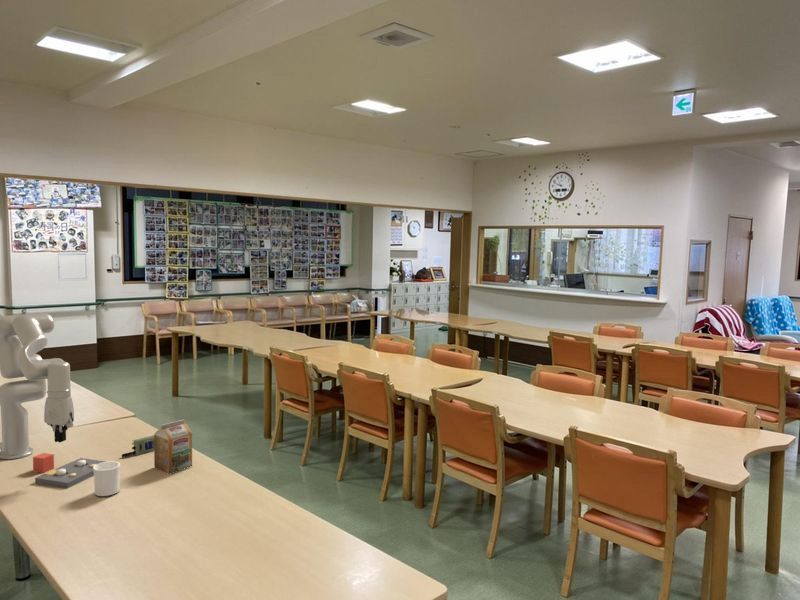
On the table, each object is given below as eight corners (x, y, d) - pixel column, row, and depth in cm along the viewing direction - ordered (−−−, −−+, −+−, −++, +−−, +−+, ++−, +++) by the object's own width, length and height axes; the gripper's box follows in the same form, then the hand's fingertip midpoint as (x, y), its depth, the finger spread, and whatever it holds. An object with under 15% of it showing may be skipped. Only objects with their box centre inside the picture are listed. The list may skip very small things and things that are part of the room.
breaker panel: (35, 482, 218) (35, 476, 218) (80, 462, 240) (80, 456, 239) (67, 488, 215) (67, 481, 215) (111, 467, 236) (111, 460, 236)
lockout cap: (33, 471, 229) (32, 457, 229) (43, 467, 234) (43, 452, 233) (43, 473, 228) (43, 458, 227) (54, 468, 233) (53, 454, 232)
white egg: (74, 466, 231) (74, 462, 231) (81, 464, 234) (81, 459, 234) (81, 467, 230) (81, 463, 230) (87, 465, 233) (87, 460, 233)
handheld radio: (178, 445, 265) (124, 459, 245) (174, 443, 267) (120, 458, 247) (177, 430, 264) (123, 444, 245) (173, 429, 266) (119, 442, 247)
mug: (109, 499, 206) (109, 471, 206) (87, 496, 208) (87, 468, 207) (129, 487, 217) (129, 460, 216) (108, 484, 219) (108, 458, 218)
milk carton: (168, 474, 231) (168, 427, 229) (154, 467, 237) (154, 422, 235) (192, 466, 239) (192, 422, 237) (177, 460, 245) (177, 416, 244)
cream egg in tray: (54, 476, 221) (54, 471, 221) (61, 473, 225) (61, 468, 224) (61, 477, 221) (61, 472, 221) (67, 474, 224) (67, 469, 224)
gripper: (34, 394, 218) (35, 442, 220) (67, 398, 214) (68, 446, 216) (51, 390, 225) (52, 436, 227) (83, 393, 222) (84, 440, 223)
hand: (60, 440), depth 221 cm, fingers closed
